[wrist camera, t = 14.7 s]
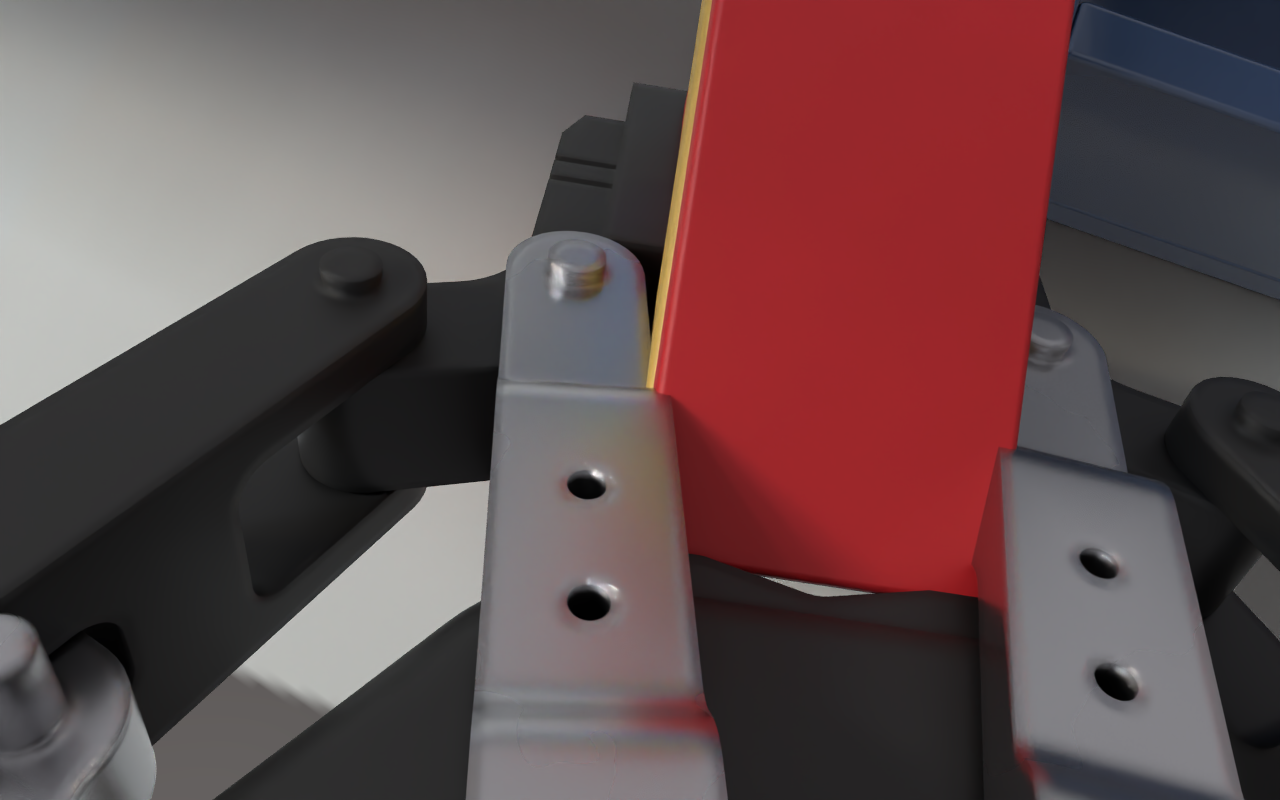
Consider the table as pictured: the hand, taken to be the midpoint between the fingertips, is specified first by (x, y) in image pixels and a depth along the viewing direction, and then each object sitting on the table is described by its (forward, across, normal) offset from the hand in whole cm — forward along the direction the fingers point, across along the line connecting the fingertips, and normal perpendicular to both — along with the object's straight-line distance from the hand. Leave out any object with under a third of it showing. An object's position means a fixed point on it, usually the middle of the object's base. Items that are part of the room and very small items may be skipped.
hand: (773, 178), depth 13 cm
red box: (+1, 0, +4) cm, 4 cm away
